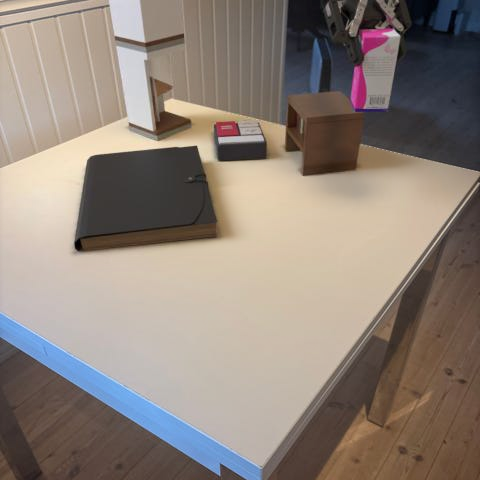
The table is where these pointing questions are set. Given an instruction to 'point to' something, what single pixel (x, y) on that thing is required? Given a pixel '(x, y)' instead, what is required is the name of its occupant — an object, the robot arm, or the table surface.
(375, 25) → the robot arm
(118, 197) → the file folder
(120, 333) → the table surface
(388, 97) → the supplement box
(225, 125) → the dark grey flat box
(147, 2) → the white tower
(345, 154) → the shelf
